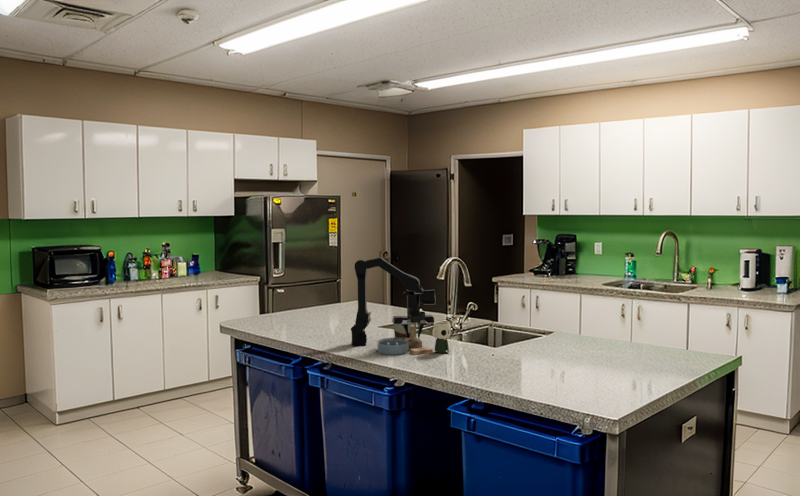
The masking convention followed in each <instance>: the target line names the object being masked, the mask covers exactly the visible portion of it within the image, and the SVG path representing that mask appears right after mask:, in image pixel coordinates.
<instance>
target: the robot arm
mask: <svg viewBox="0 0 800 496" xmlns="http://www.w3.org/2000/svg"><path fill="white" fill-rule="evenodd" d="M377 267H378V268H381V269H382V270H383V271H385V272H387V273H388V274H390V276H391V275H392V276H393V277H394V278H396V279H398V280H399V281H400V282H401V283H402V284H403V285H404V286H405V287H406V290H404V292H403V293H402V295H403V296H406V316H407V318H402V317H401V316H402V315H393V316H392V319H393V322H392V323H394V324H401V325H403V327H404V329H405V332H406V335H407V338H406V339H410V338H409V333H408V324H407V322H411V323H418V328H417V338H419V339H420V337H421V334H422V330H423V328H424V326H426V325H428V324H434V323H435V317H434V316H433V315H432V314H426V312H425V311H420V310H421V309H420V303H422V304H423V305H426V306H427V305H430V306H431V305H434V306H435V305H436V290H435V289H426V290H425V289H424V288H423V286H421V284H420V283H421V282H420V279H419V278H418V277H416V276H414V275H412V274H408V273H406V272H404V271H402V270H400V268H397V266H395V265H393V264H391V263H390V262H389V261H387V260H385V259H384V258H383V257H381V256H380V257H377V258H372V259H364V258H362V259H361V258H360V259H359V260H357V261H356V262H355V263H354V272H355V276H356V278H357V312H356V316H355V317H356V318H355V324H353V326H352V327H351V328H350V331H351V342H350V344H351V346H352V347H353V346H354V347H357V346H358V347H359V346H360V347H362V346H363V347H364V346H366V345H367V343H368V341H367V339H368V337H367V336H368V335H367V334H366V328H367V327H368V326H369V324H370V322H371V321H372V319H371V314H372V313H371V312H368V306H367V305H368V304H367V300H368V299H367V298H368V297H367V277H368V272H369V269H372V268H373V269H374V268H377ZM409 319H410V320H409Z"/></svg>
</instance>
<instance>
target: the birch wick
mask: <svg viewBox="0 0 800 496" xmlns="http://www.w3.org/2000/svg"><path fill="white" fill-rule="evenodd" d="M410 329H411V341H412V342H414V341H416V338H417V326H416V324H415V325H410Z"/></svg>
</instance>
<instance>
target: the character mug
mask: <svg viewBox="0 0 800 496" xmlns="http://www.w3.org/2000/svg"><path fill="white" fill-rule="evenodd" d="M451 327H452V326H451V323H450V322H447V321H436V322H435V321H434V323H433V328H432V336H433V338H435V344H434V351H435V352H437V353H439V354H440V353H441V354H442V353H445V354H446V353H448V352H449V351H450V349H449V341H448V339H449V338H450V337H451V332H452V331H451V330H452V328H451Z"/></svg>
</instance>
